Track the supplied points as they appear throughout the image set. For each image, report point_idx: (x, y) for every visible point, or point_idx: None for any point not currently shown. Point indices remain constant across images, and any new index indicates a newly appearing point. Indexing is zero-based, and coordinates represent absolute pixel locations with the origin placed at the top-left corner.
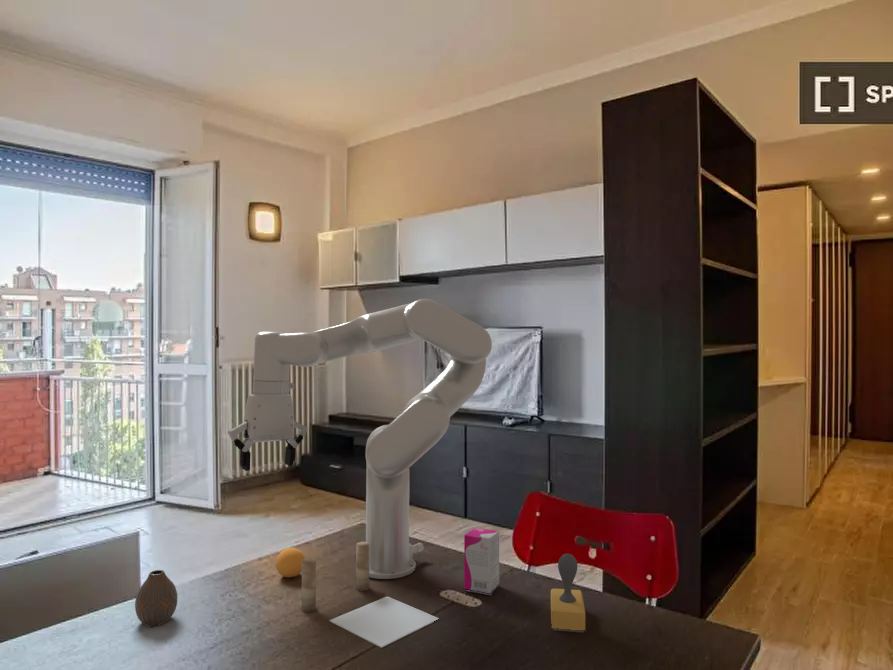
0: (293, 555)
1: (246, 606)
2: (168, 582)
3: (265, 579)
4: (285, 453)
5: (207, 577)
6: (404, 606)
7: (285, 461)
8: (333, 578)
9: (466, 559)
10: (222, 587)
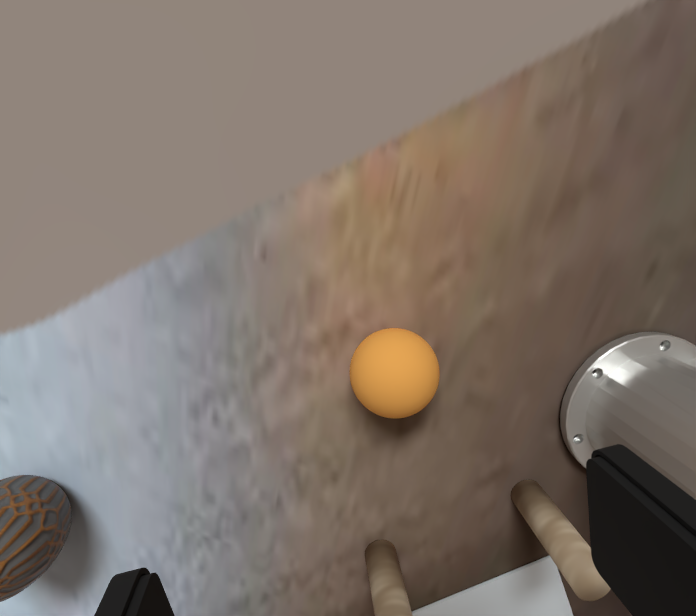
0: (402, 416)
1: (249, 495)
2: (7, 590)
3: (317, 349)
4: (681, 545)
5: (152, 264)
6: (560, 607)
7: (605, 487)
8: (486, 412)
9: None
10: (196, 360)
